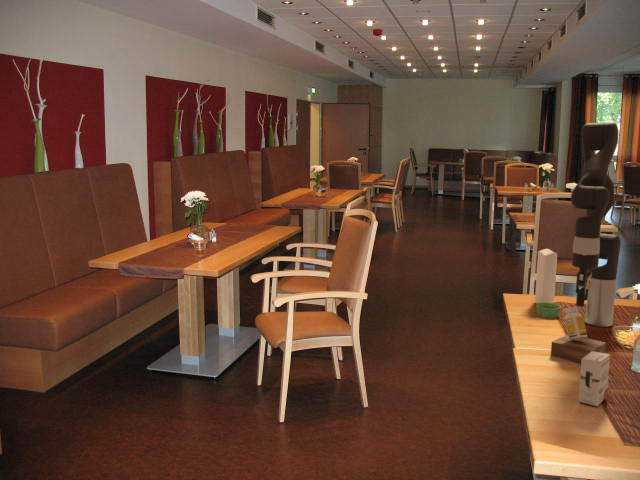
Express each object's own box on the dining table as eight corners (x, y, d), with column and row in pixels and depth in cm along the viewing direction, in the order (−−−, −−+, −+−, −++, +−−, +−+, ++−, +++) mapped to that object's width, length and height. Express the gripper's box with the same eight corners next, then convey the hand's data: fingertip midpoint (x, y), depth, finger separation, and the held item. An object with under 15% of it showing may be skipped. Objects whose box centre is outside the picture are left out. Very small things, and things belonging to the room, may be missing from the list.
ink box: (588, 391, 172) (591, 349, 170) (607, 396, 169) (611, 354, 167) (577, 401, 166) (581, 358, 164) (597, 407, 162) (601, 362, 161)
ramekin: (532, 317, 243) (533, 306, 242) (538, 312, 251) (539, 301, 250) (557, 321, 238) (558, 309, 238) (562, 315, 246) (563, 304, 245)
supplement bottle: (587, 337, 201) (579, 306, 203) (588, 336, 196) (580, 305, 198) (569, 340, 203) (561, 310, 205) (569, 339, 198) (561, 308, 200)
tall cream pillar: (531, 308, 256) (535, 249, 252) (534, 304, 262) (538, 246, 258) (551, 310, 252) (555, 251, 248) (553, 306, 258) (558, 248, 255)
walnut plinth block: (567, 348, 209) (569, 334, 208) (605, 358, 200) (606, 342, 199) (550, 357, 200) (551, 341, 199) (588, 367, 192) (590, 351, 191)
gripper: (576, 246, 203) (572, 296, 206) (569, 253, 191) (565, 306, 193) (601, 249, 199) (597, 299, 202) (596, 256, 187) (592, 310, 190)
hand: (581, 302), depth 198 cm, fingers open, 8 cm apart
